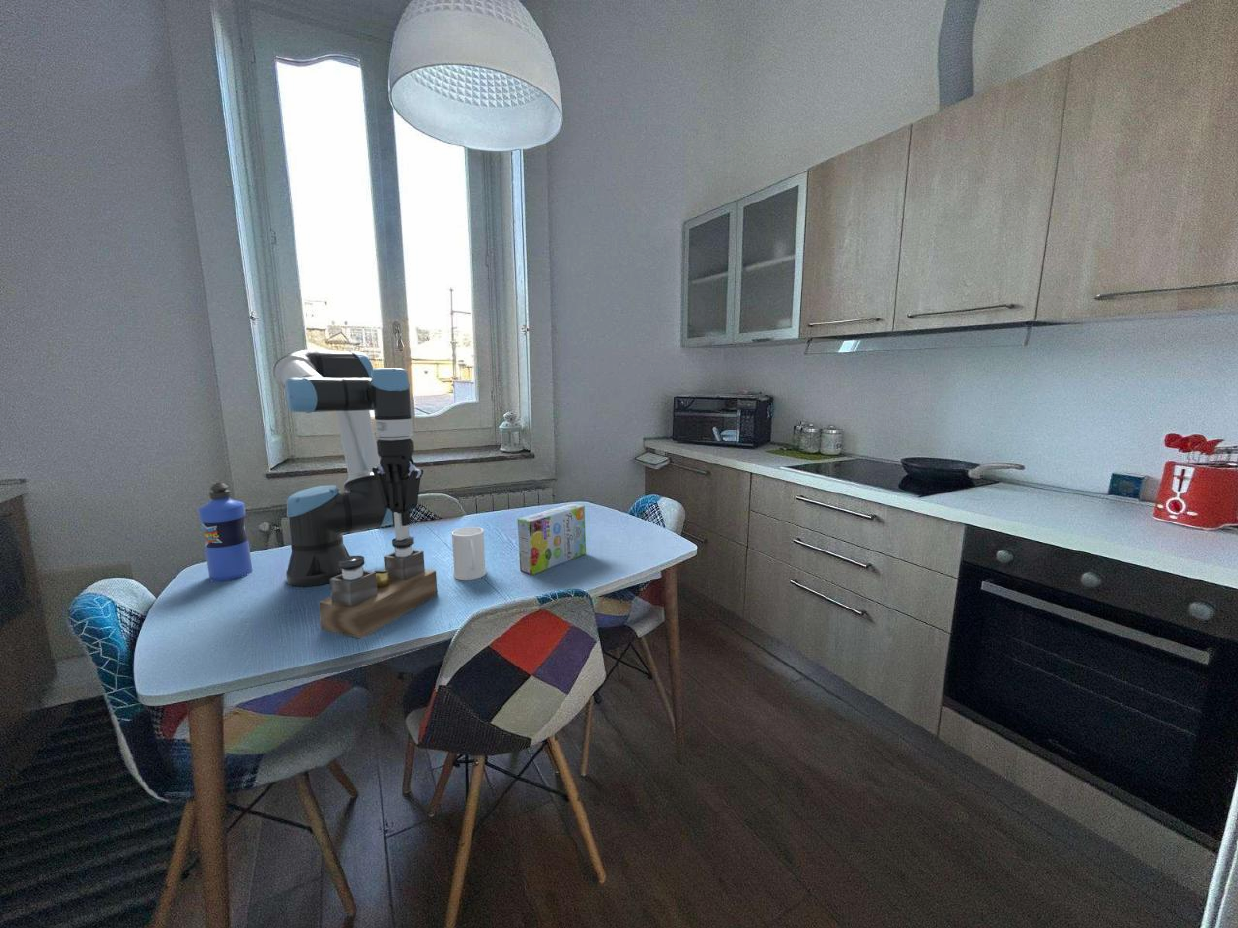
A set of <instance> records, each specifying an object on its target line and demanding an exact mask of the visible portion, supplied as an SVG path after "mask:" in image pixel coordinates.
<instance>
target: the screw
mask: <svg viewBox="0 0 1238 928" xmlns="http://www.w3.org/2000/svg"><path fill="white" fill-rule="evenodd" d="M374 572H376V580H377V588H383V587H387V586H388V585H389V574H388V571H387V570H385V569H379V570H378V569H377V570H375V571H374Z"/></svg>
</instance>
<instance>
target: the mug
mask: <svg viewBox="0 0 1238 928" xmlns="http://www.w3.org/2000/svg"><path fill="white" fill-rule="evenodd" d="M484 533H485V532H484V528H482V527H477V526H466V527H460V528H455V530H453V531H452V532H451V542H452V557H453V559H452V560H453V561H452V562H453V575H452V577H453V578H454V579H456V580H459V581H473V580H478V579H480V578H483V577H484V576H486V574H487V567H486V557H485V556H486V554H485V553H486V550H485V534H484Z"/></svg>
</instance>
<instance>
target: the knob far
mask: <svg viewBox="0 0 1238 928" xmlns="http://www.w3.org/2000/svg"><path fill="white" fill-rule="evenodd" d="M414 538H415V537H414V536H411V535H410V537H409V538H406V539H403V540H396V537H395V538H393V539H391V544H392V547H393V548H394V552H395V557H399V558H406V557H408V556H411V555H413V550H414V549H413V545H414V543H415V542H414V541H415V540H414Z"/></svg>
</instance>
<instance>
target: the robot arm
mask: <svg viewBox="0 0 1238 928" xmlns="http://www.w3.org/2000/svg"><path fill="white" fill-rule="evenodd" d="M273 377H274V379H275V381H276V382H277V383H278V385H279V386H281V387H282V388H283V389H284V390H285V399H286V400H285V401H286V404H287V408H288V410H289V411H291V412H293V413H306V414H311V413H321V412H322V413H323V412H336V420H337V423H338V424H337V425H338V430H339V435H340V441H341V445H342V450H343V455H344V461H345V466H346V469H347V475H348V478H347V479H346V481H345V482H344V483H343V487H344V488H343V489H341V490H340V489H339V487H338V486H337V485H334V484H329V485H319V486H314V487H310V488H307V489H303V490H299V491H297V492H294V493H293V494H291V495H290V496H289V497H288V498H287V500H286V517H287V519H288V520H287V521H288V528H289V536H290V537H289V540H290V546H291V553H290V558H289V560H288V566H287V570H286V573H285V574H286V575H285V576H286V582H287V584H289V585H291V586H295V587H296V586H297V587H311V586H319V585H325V584H330V579H331V578H333V577H336V576H338V575H340V574H342V569H341V568H339V560H340V559H342V558H345V557H349V556H350V554H349V551H348V550H347V548H346V546H345V544H344V537H343V535H344V534H346V533H352V532H353V533H354V532H359V531H365V530H370V529H376V528H382V527H385V526H386V527H387V526H390V525H394V533H395V538H396V540H403V539H406V538H409V537H410V536H411V535H410V525H411V513H410V512H411V511H412V510H414V509H417V507H418V501H419V492H420V487H421V486H420V485H421V478H422V476H423V474H424V472H425V471H424V469H423V468H418V467H416V465H415V462H414V460H413V455H414V453H415V446H414V438H412V436H413V435H414V432H413V422H412V421H413V420H412V406H411V392H410V391H411V390H410V387H411V383H410V380H409V378H410V377H409V373H408V371H407V370H406V369H404V368H397V367H395V368H394V367H393V368H392V367H391V368H387V367H386V368H385V367H383V368H382V367H381V368H374V366H373V364H372V361H371V360H370V358H369V356H368V355H366V354H365V353H364V352H362V351H354V350H353V351H352V350H345V351H344V350H323V349H300V350H295V351H291V352H287V354H284V355H283V356H281V357H279V358H278V359H277V361H276V362H275V363H274V366H273ZM370 411H373V412H374V422H375V431H374V427H373V421H372V417H371V412H370ZM375 433H376V435H375ZM376 437H377V438H378V439H377V440H376Z"/></svg>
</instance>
